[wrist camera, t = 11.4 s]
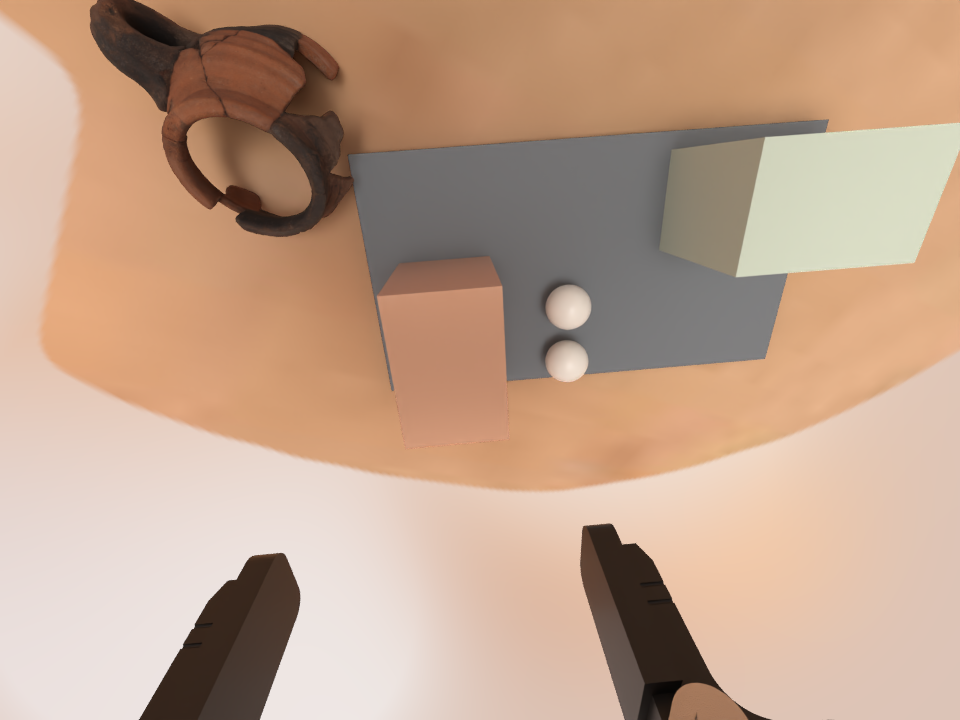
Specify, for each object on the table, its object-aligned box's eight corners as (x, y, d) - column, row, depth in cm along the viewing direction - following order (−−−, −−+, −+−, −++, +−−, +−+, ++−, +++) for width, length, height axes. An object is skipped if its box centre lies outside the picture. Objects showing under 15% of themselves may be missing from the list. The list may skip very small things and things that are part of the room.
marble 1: (541, 281, 27) (551, 293, 24) (584, 278, 27) (599, 289, 24) (541, 322, 28) (550, 338, 25) (582, 319, 28) (596, 334, 25)
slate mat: (351, 155, 24) (347, 154, 23) (815, 121, 25) (828, 119, 24) (393, 384, 31) (391, 390, 30) (756, 353, 31) (764, 358, 30)
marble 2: (541, 335, 29) (550, 352, 26) (582, 332, 29) (595, 348, 26) (541, 372, 30) (550, 391, 27) (580, 368, 30) (592, 388, 27)
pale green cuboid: (659, 250, 26) (735, 277, 19) (671, 149, 24) (765, 137, 17) (789, 239, 27) (914, 262, 19) (815, 138, 24) (970, 122, 17)
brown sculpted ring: (394, 83, 23) (371, 158, 18) (336, 199, 29) (308, 276, 25) (145, -108, 17) (17, -69, 12) (139, 88, 23) (53, 163, 19)
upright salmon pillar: (399, 263, 26) (376, 296, 19) (489, 256, 26) (502, 286, 19) (417, 382, 30) (405, 448, 22) (496, 376, 30) (509, 439, 23)
